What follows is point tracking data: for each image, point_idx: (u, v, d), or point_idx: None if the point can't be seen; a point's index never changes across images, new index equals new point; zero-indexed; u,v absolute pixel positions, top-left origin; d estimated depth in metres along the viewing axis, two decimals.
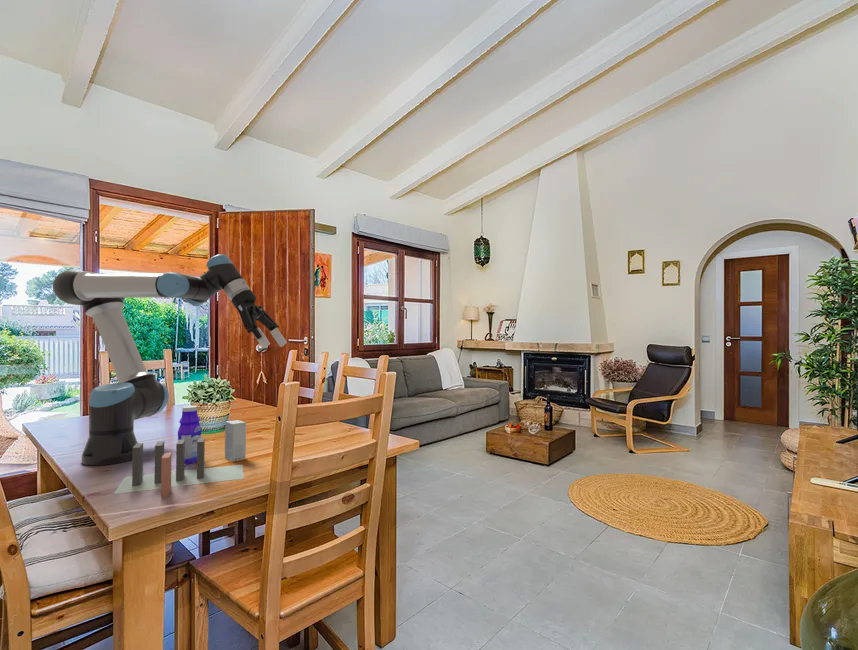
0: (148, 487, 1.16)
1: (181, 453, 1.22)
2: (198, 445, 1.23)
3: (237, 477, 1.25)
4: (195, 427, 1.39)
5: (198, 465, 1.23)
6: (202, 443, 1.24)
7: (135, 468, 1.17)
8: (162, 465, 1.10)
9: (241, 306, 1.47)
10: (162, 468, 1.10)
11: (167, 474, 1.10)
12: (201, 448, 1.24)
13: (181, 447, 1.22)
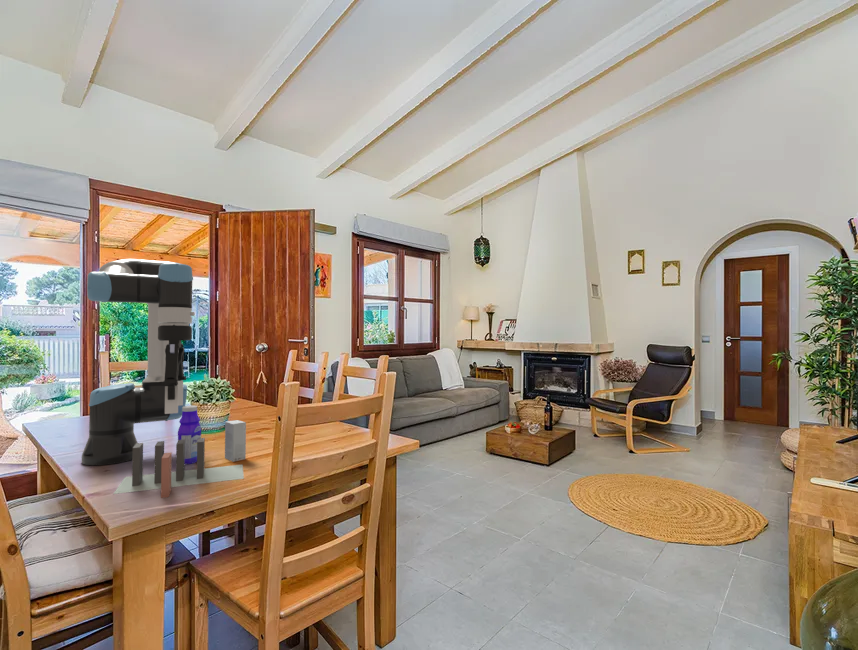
0: (148, 487, 1.16)
1: (181, 453, 1.22)
2: (198, 445, 1.23)
3: (237, 477, 1.25)
4: (195, 427, 1.39)
5: (198, 465, 1.23)
6: (202, 443, 1.24)
7: (135, 468, 1.17)
8: (162, 465, 1.10)
9: (174, 348, 1.08)
10: (162, 468, 1.10)
11: (167, 474, 1.10)
12: (201, 448, 1.24)
13: (181, 447, 1.22)
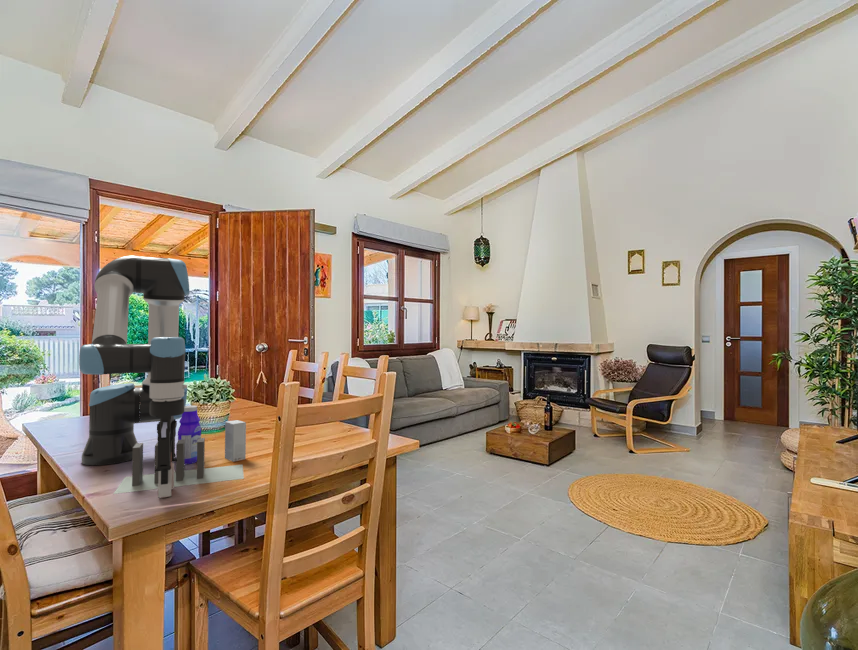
0: (148, 487, 1.16)
1: (181, 453, 1.22)
2: (198, 445, 1.23)
3: (237, 477, 1.25)
4: (195, 427, 1.39)
5: (198, 465, 1.23)
6: (202, 443, 1.24)
7: (135, 468, 1.17)
8: None
9: (166, 433, 1.06)
10: None
11: None
12: (201, 448, 1.24)
13: (181, 447, 1.22)
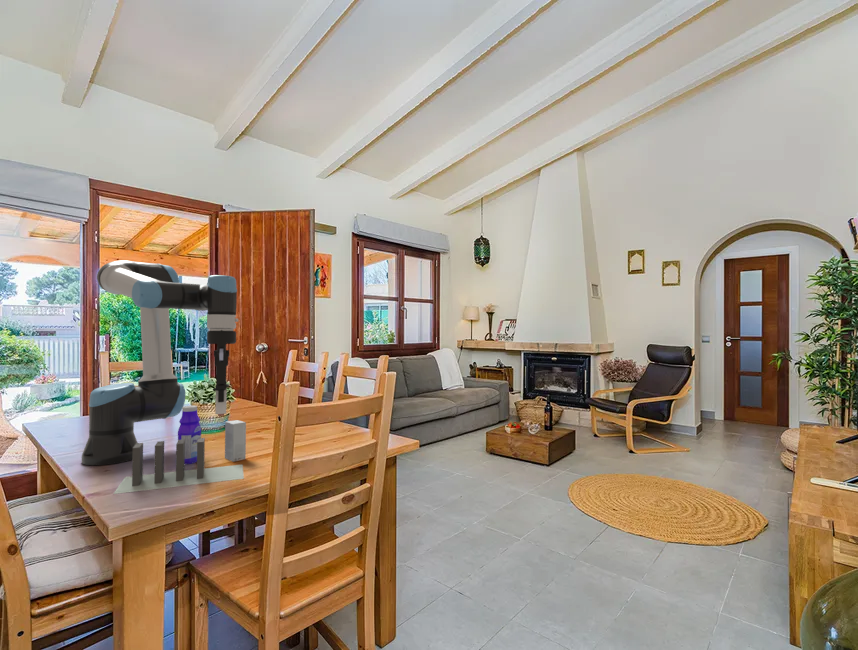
0: (148, 487, 1.16)
1: (181, 453, 1.22)
2: (198, 445, 1.23)
3: (237, 477, 1.25)
4: (195, 427, 1.39)
5: (198, 465, 1.23)
6: (202, 443, 1.24)
7: (135, 468, 1.17)
8: None
9: (223, 357, 1.23)
10: None
11: None
12: (201, 448, 1.24)
13: (181, 447, 1.22)
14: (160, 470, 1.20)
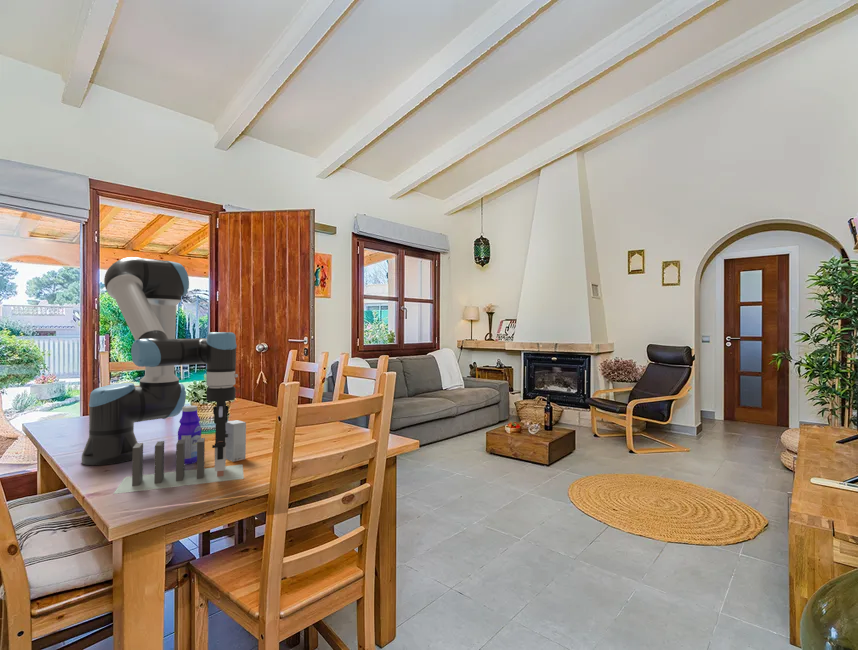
0: (148, 487, 1.16)
1: (181, 453, 1.22)
2: (198, 445, 1.23)
3: (237, 477, 1.25)
4: (195, 427, 1.39)
5: (198, 465, 1.23)
6: (202, 443, 1.24)
7: (135, 468, 1.17)
8: None
9: (222, 413, 1.22)
10: None
11: None
12: (201, 448, 1.24)
13: (181, 447, 1.22)
14: (160, 470, 1.20)
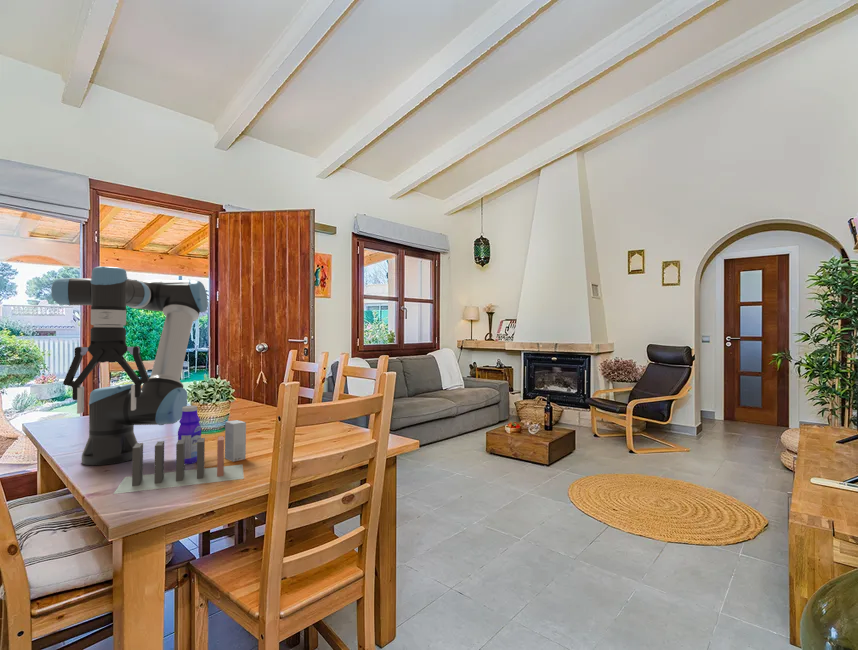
0: (148, 487, 1.16)
1: (181, 453, 1.22)
2: (198, 445, 1.23)
3: (237, 477, 1.25)
4: (195, 427, 1.39)
5: (198, 465, 1.23)
6: (202, 443, 1.24)
7: (135, 468, 1.17)
8: (218, 446, 1.25)
9: None
10: (218, 449, 1.25)
11: (222, 454, 1.26)
12: (201, 448, 1.24)
13: (181, 447, 1.22)
14: (160, 470, 1.20)
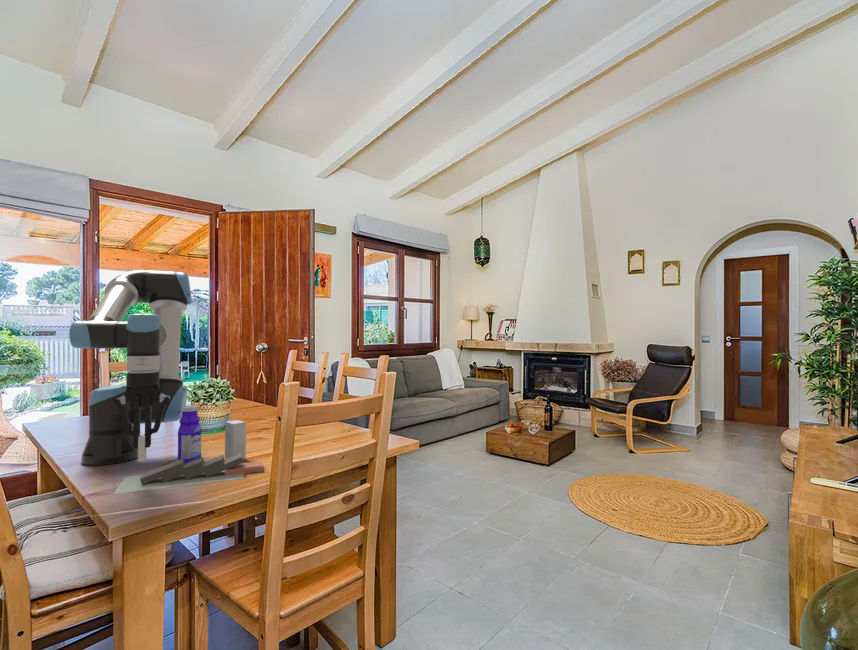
0: (148, 487, 1.16)
1: (213, 467, 1.25)
2: (239, 459, 1.28)
3: (237, 477, 1.25)
4: (195, 427, 1.39)
5: (218, 467, 1.25)
6: (241, 462, 1.28)
7: (160, 473, 1.20)
8: (256, 467, 1.29)
9: None
10: (253, 467, 1.29)
11: (247, 472, 1.29)
12: (236, 463, 1.27)
13: (220, 464, 1.26)
14: (176, 476, 1.21)
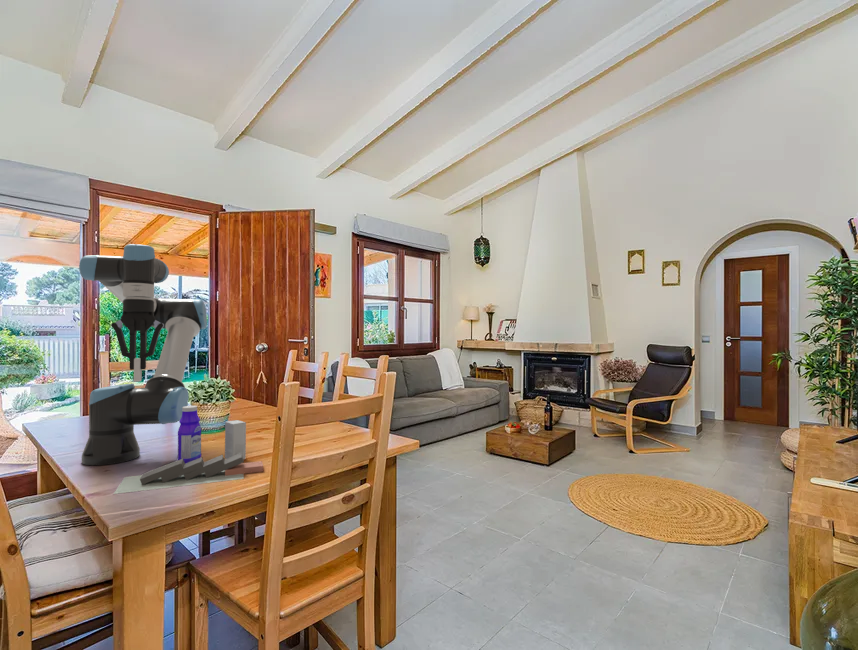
0: (148, 487, 1.16)
1: (213, 467, 1.25)
2: (239, 459, 1.28)
3: (237, 477, 1.25)
4: (195, 427, 1.39)
5: (218, 467, 1.25)
6: (241, 462, 1.28)
7: (160, 473, 1.20)
8: (256, 467, 1.29)
9: None
10: (253, 467, 1.29)
11: (247, 472, 1.29)
12: (236, 463, 1.27)
13: (220, 464, 1.26)
14: (176, 476, 1.21)
